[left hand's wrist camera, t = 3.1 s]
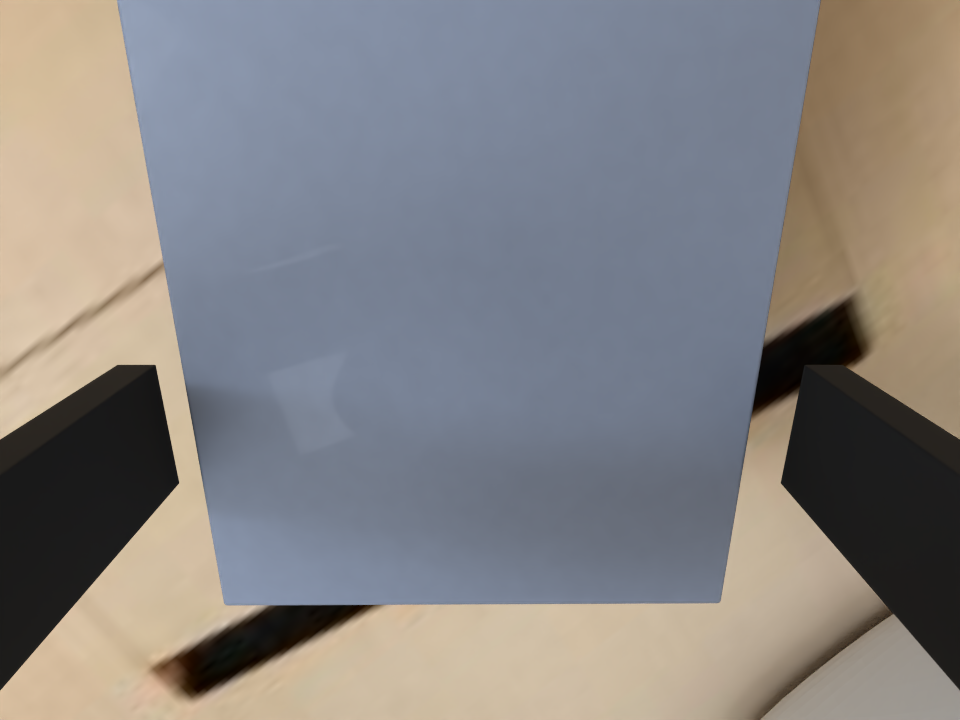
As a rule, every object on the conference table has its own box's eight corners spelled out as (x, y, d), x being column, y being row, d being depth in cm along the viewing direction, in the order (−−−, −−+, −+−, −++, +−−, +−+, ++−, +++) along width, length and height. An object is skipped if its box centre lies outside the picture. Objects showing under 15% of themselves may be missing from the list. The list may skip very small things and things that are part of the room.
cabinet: (262, -271, 16) (-39, -856, 7) (680, -270, 16) (965, -846, 7) (327, 416, 22) (222, 607, 13) (620, 415, 23) (721, 605, 13)
